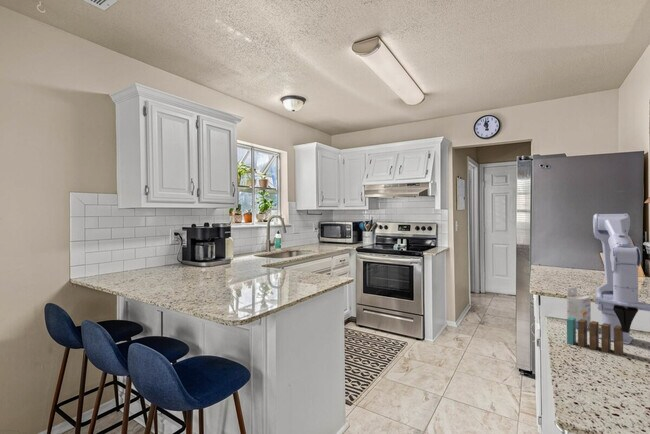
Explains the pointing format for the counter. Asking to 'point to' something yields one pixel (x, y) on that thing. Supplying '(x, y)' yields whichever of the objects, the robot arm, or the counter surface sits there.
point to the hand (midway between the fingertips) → (626, 331)
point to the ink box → (578, 306)
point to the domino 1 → (571, 330)
